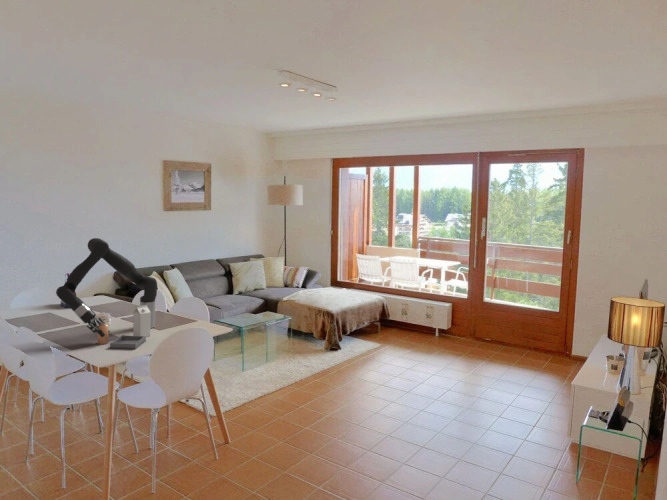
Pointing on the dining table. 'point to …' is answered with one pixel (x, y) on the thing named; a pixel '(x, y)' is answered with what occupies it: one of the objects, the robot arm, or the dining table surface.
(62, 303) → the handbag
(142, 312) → the milk carton
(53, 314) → the dining table surface
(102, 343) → the tan cylinder
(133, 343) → the tray
